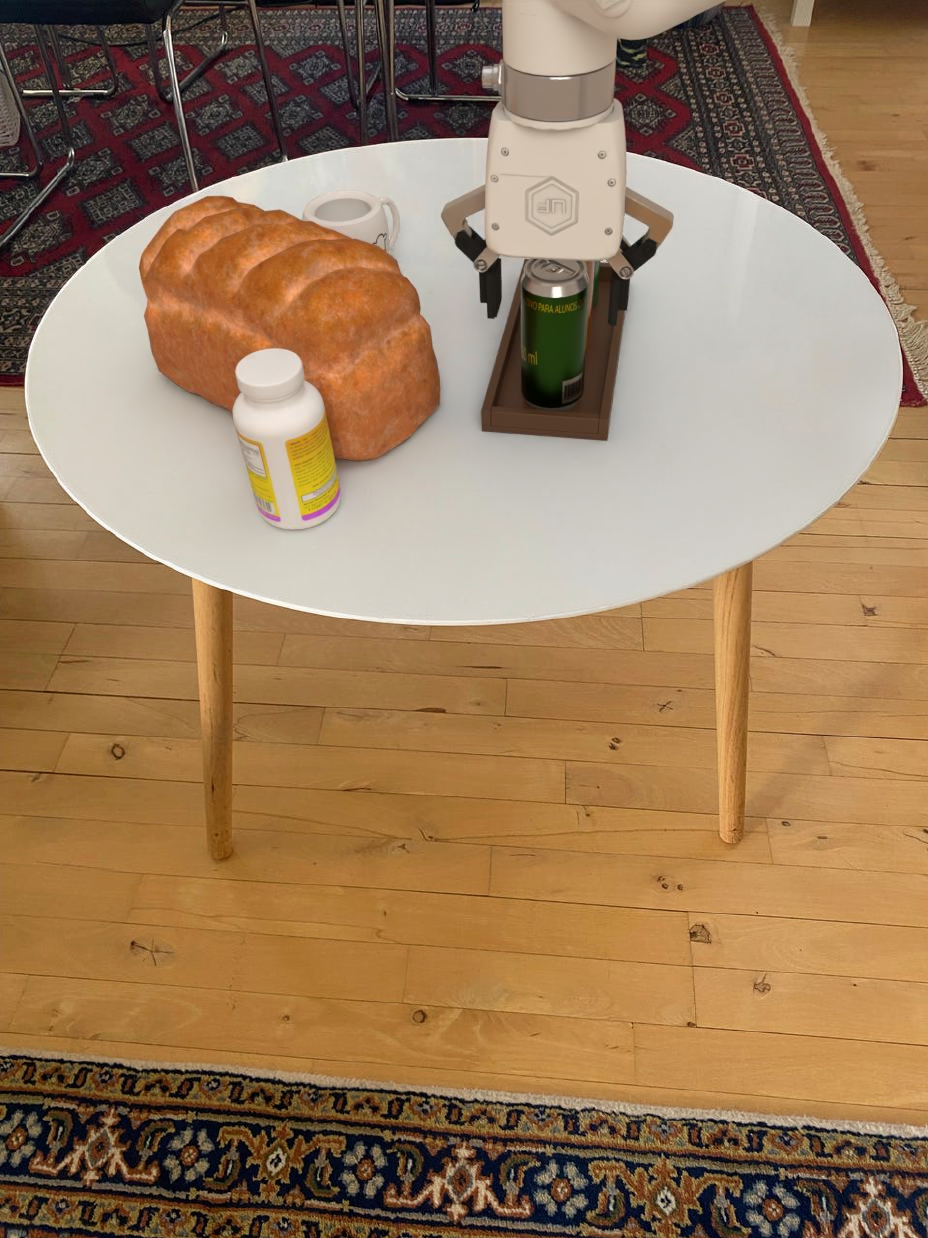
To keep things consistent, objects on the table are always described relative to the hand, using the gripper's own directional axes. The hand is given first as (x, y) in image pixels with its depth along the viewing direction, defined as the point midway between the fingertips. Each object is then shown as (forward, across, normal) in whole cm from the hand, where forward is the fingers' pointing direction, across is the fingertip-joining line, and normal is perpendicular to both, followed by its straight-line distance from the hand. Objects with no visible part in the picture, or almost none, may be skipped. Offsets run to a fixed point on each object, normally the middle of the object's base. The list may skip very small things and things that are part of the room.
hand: (553, 313), depth 80 cm
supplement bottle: (+9, -18, -16) cm, 26 cm away
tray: (+9, 0, +8) cm, 12 cm away
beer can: (+8, 0, 0) cm, 8 cm away
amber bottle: (+8, 0, +8) cm, 11 cm away
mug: (+9, -22, +20) cm, 31 cm away
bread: (+9, -23, -1) cm, 25 cm away
